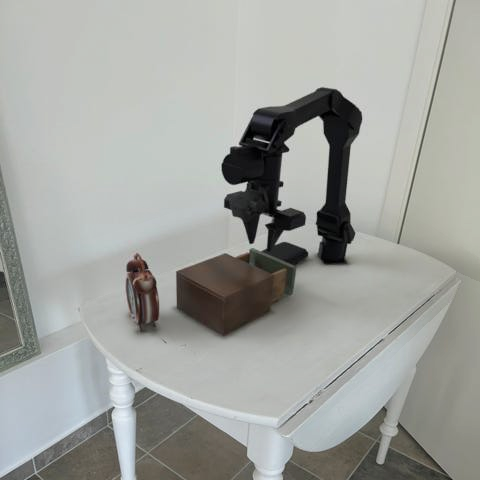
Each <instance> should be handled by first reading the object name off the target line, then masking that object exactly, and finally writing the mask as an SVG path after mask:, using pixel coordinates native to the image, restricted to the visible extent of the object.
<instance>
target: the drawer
mask: <svg viewBox="0 0 480 480" xmlns="http://www.w3.org/2000/svg"><path fill="white" fill-rule="evenodd" d="M261 251H262V250H259V249H256V248H253V247H252V248H251V247H250V248H249V252H245V253H242V254H239V255H237V256H234V257H235V258H237V259H239V260H242V261H244V262H246V263H248V264H250V265H253V266H255V267H257V268H259V269H261V270H264V271H266V272H268V273H270V274H272V275H274V278H273V288H272V298H271V303H273V302H275V301H277V300H279V299H281V298H282V297H285V295H286V296H288V297H291V296H293V295H294V288H295V282H296V273H297V266H296V265H295V264H294V265H292V264H289V263H287V262H285V261H282V260H280V259H278V258H275V257H273V256H270V255H268V254H266V253H263V252H261Z"/></svg>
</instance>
